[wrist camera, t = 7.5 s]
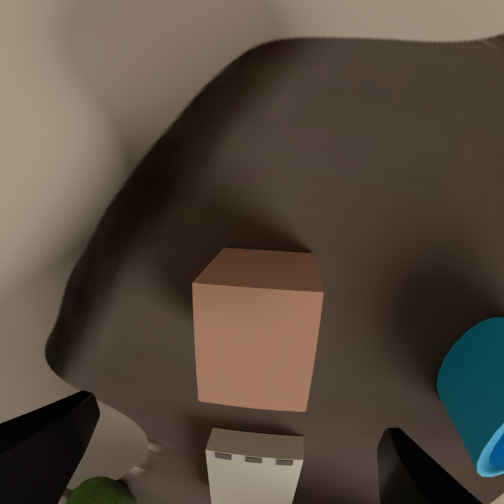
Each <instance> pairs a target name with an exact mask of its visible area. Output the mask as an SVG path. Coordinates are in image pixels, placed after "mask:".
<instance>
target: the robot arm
mask: <svg viewBox="0 0 504 504" xmlns="http://www.w3.org/2000/svg"><path fill="white" fill-rule="evenodd" d="M99 417H100V410H99V407H98V404H97V401H96V398H95V395H94V394H93V393H90V392H87V391H80V392H77V393H75V394H73V395H70V396H68V397H66V398H63V399H61V400H59V401H56V402H54V403H51V404H49V405H46V406H44V407H42V408H39V409H37V410H34V411H32V412H29V413H27V414H24V415H21V416H19V417H16V418H14V419H11V420H9V421H6V422H3V423H1V424H0V504H58V502H59V500H60V498H61V496H62V494H63V493H64V491H65V489H66V487H67V485H68V483H69V481H70V479H71V477H72V476H73V474H74V472H75V470H76V468H77V466H78V464H79V462H80V461H81V459H82V457H83V455H84V453H85V451H86V449H87V447H88V444H89V442H90V439H91V437H92V434H93V432H94V429H95V427H96V425H97V422H98V420H99ZM377 459H378V480H379V496H380V503H381V504H483V503H482V502H480V501H479V500H478V499H477V498H476V497H475V496H473V495H472V494H471V493H470V492H469V493H468V490H467V489H465V488H464V487H463V486H462V485H461V484H460V483H459V482H458V481H457V480H455V479H454V478H453V477H452V476H451V475H450V474H449V473H448V472H447V471H446V470H444V469H443V468H442V467H441V466H440V465H439V464H438V463H437V462H436V461H435V460H434V459H432V458H431V457H430V456H429V455H428V454H427V453H426V452H425V451H424V450H423V449H422V448H421V447H419V446H418V445H417V444H416V443H415V442H414V441H413V440H412V439H411V438H410V437H409V436H408V435H407V434H406V433H405V432H403V431H402V430H401V429H400V428H387V429H386V430H385V431H384V433H383V435H382V438H381V440H380V442H379V445H378V448H377Z"/></svg>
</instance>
